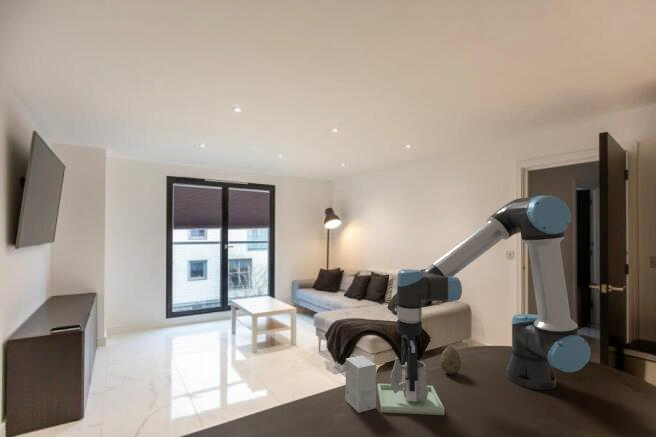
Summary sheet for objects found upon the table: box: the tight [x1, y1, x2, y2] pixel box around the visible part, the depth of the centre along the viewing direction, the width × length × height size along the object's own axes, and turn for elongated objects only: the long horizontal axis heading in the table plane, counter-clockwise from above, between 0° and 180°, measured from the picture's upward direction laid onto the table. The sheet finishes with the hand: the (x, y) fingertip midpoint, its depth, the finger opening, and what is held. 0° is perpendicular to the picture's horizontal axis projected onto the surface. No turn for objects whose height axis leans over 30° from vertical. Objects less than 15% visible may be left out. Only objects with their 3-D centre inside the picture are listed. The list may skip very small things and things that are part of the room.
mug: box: [389, 356, 428, 402], centre depth 105 cm, size 8×12×12 cm, turn 95°
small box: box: [344, 355, 377, 414], centre depth 103 cm, size 8×6×13 cm
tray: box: [376, 383, 446, 416], centre depth 105 cm, size 18×14×2 cm
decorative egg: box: [440, 346, 462, 375], centre depth 125 cm, size 7×7×10 cm
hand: (408, 393), depth 105 cm, fingers closed on mug, 7 cm apart
